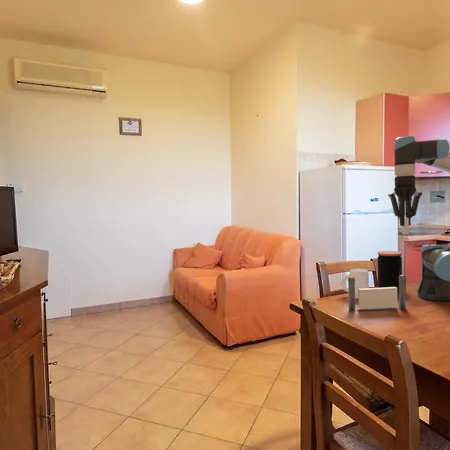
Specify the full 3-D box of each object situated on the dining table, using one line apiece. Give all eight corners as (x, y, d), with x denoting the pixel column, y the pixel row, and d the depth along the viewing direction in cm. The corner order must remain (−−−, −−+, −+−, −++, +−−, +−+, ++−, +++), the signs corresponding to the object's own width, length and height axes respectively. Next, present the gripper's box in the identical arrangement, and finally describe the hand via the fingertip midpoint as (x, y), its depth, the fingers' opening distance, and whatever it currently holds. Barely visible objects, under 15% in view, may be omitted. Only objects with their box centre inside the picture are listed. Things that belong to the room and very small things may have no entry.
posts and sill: (404, 307, 149) (404, 274, 148) (407, 309, 146) (407, 275, 145) (347, 309, 149) (346, 276, 148) (349, 311, 147) (348, 277, 146)
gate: (395, 306, 148) (395, 286, 148) (397, 307, 146) (397, 288, 146) (358, 308, 148) (358, 288, 147) (360, 309, 146) (359, 289, 145)
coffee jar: (404, 292, 172) (404, 253, 171) (380, 292, 174) (379, 254, 173) (398, 287, 182) (398, 250, 181) (375, 286, 184) (375, 250, 183)
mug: (340, 293, 174) (339, 268, 173) (367, 294, 171) (366, 268, 171) (342, 298, 166) (341, 272, 165) (370, 298, 163) (369, 272, 163)
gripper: (416, 175, 153) (416, 232, 155) (384, 177, 154) (385, 233, 155) (425, 174, 146) (426, 234, 147) (392, 175, 146) (393, 235, 148)
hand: (405, 233), depth 151 cm, fingers closed
